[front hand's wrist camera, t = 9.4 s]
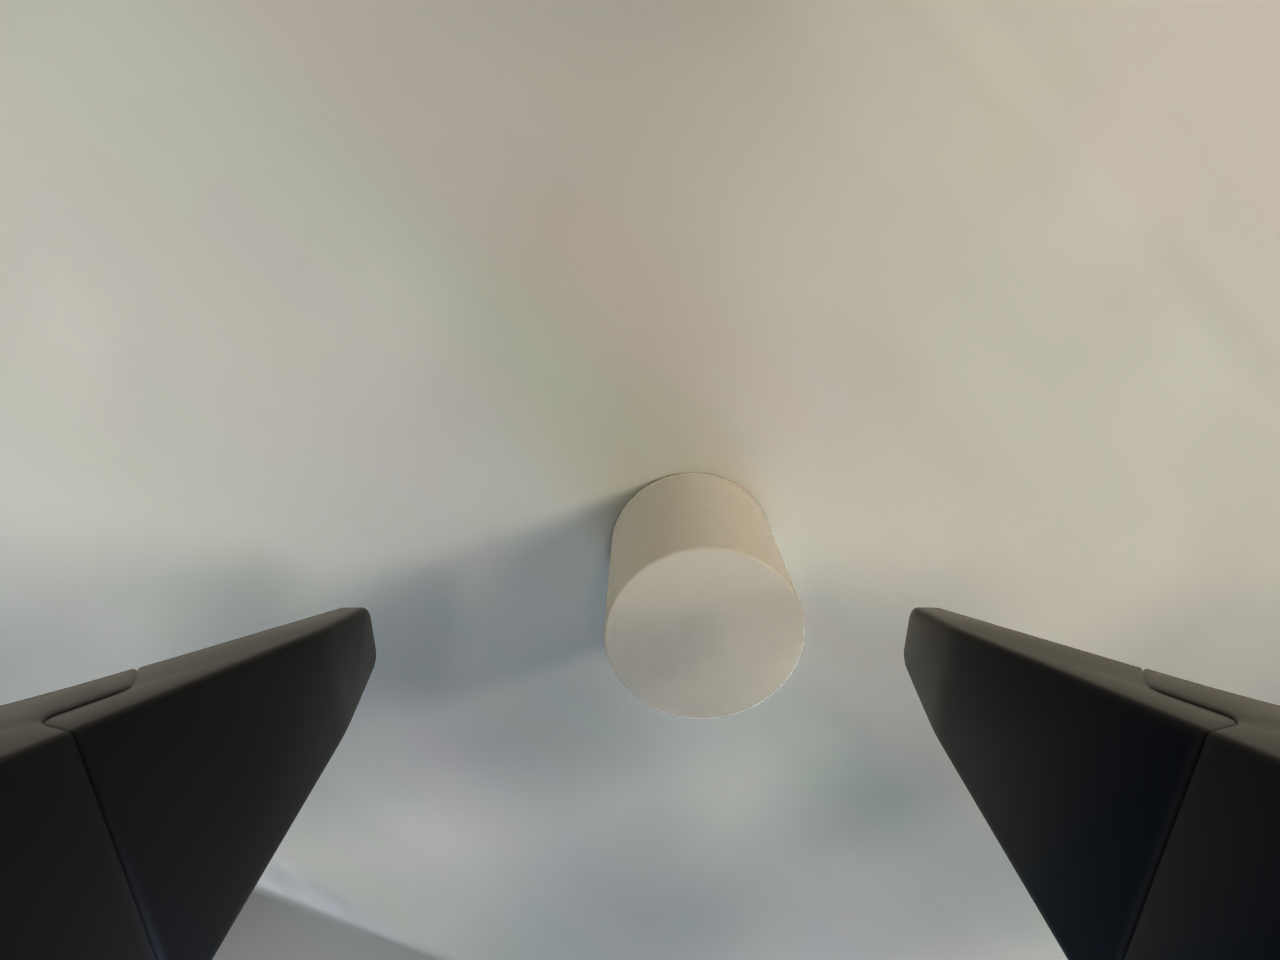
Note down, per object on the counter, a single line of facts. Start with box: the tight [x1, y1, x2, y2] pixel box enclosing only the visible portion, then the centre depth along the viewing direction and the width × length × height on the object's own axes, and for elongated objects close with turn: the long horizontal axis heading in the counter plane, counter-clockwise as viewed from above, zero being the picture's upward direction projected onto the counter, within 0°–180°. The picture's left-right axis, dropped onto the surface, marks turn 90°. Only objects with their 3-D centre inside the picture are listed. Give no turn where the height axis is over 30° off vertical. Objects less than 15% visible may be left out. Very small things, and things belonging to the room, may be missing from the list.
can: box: [604, 473, 805, 719], centre depth 16 cm, size 4×4×4 cm
